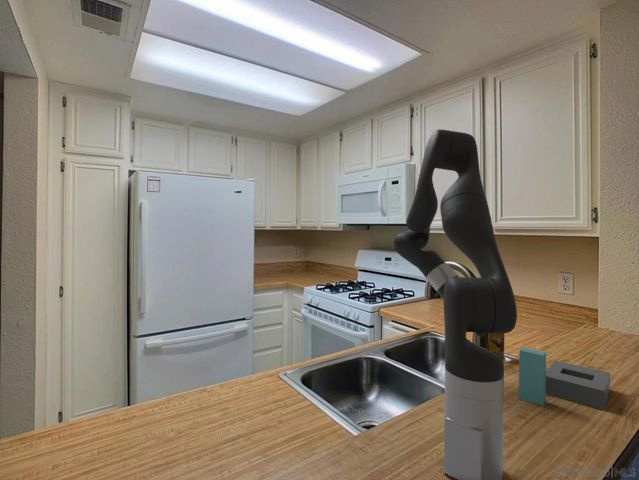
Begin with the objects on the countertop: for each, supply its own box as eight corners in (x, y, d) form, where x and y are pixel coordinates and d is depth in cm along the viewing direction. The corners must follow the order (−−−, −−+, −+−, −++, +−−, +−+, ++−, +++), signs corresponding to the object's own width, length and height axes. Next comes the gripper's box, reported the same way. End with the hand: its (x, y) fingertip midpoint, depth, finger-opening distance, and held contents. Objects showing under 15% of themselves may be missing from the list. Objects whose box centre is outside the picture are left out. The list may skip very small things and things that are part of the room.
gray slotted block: (604, 410, 78) (604, 391, 78) (542, 392, 86) (543, 375, 86) (610, 390, 88) (610, 372, 88) (554, 376, 96) (554, 360, 96)
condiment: (505, 363, 106) (505, 325, 106) (475, 358, 110) (475, 321, 110) (505, 355, 112) (506, 319, 112) (477, 351, 116) (477, 316, 116)
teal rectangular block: (542, 405, 80) (543, 355, 80) (518, 398, 84) (519, 350, 83) (545, 401, 82) (546, 352, 82) (522, 394, 86) (522, 347, 85)
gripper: (444, 276, 90) (490, 328, 83) (466, 272, 100) (508, 317, 93) (426, 294, 94) (467, 344, 86) (448, 288, 104) (487, 332, 97)
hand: (488, 330), depth 90 cm, fingers open, 8 cm apart
